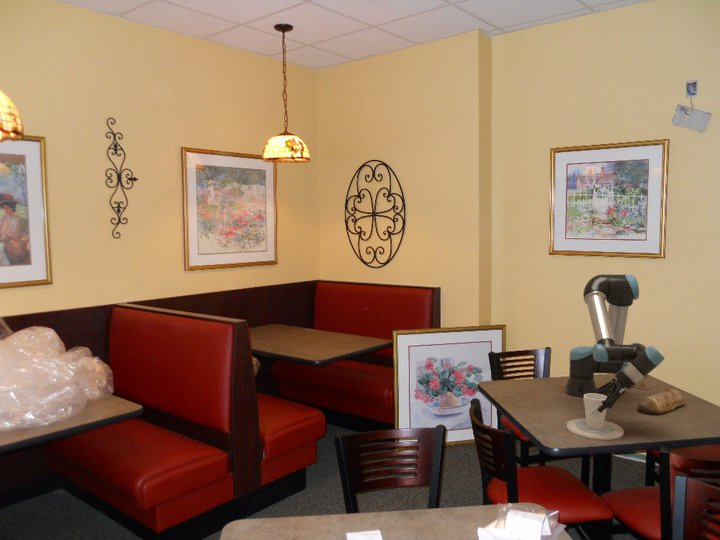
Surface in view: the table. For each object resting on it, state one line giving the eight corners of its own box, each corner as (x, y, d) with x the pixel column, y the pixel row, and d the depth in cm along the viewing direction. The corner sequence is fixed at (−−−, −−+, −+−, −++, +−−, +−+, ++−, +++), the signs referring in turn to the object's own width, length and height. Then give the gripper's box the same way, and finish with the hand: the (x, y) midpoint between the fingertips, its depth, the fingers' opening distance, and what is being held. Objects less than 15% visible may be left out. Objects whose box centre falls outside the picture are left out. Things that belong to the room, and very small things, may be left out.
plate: (555, 426, 246) (555, 423, 246) (591, 418, 256) (591, 415, 256) (597, 443, 226) (597, 440, 226) (635, 433, 236) (635, 430, 236)
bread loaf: (668, 424, 251) (670, 403, 250) (627, 413, 263) (629, 393, 262) (693, 408, 275) (696, 389, 274) (654, 399, 287) (656, 380, 286)
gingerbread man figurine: (648, 388, 300) (649, 365, 299) (646, 390, 297) (647, 367, 296) (630, 385, 306) (631, 363, 305) (628, 387, 303) (629, 364, 302)
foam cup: (606, 424, 244) (607, 394, 243) (608, 432, 235) (609, 401, 234) (582, 422, 247) (583, 392, 246) (583, 429, 238) (584, 398, 237)
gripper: (643, 392, 224) (601, 427, 228) (628, 375, 248) (590, 407, 253) (629, 378, 225) (587, 413, 229) (615, 362, 249) (578, 395, 253)
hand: (589, 410), depth 241 cm, fingers open, 13 cm apart
